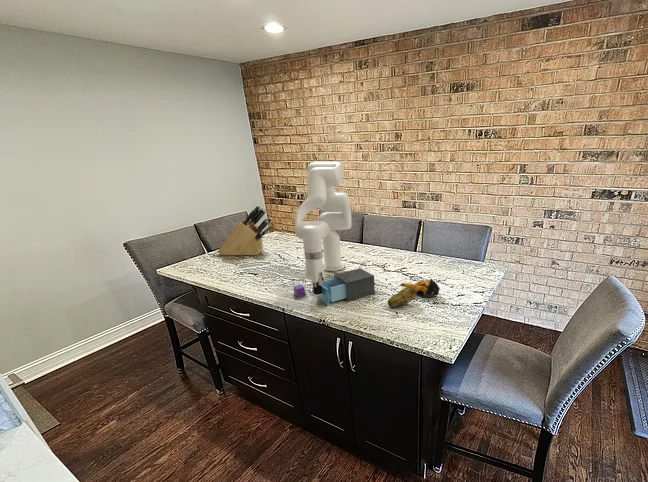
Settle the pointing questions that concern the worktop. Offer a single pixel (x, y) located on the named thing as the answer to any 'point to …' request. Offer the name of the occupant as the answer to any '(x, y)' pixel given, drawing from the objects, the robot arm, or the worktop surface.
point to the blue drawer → (331, 291)
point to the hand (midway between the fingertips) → (317, 294)
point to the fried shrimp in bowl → (424, 288)
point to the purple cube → (299, 290)
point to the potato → (402, 297)
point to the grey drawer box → (357, 283)
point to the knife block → (247, 236)
